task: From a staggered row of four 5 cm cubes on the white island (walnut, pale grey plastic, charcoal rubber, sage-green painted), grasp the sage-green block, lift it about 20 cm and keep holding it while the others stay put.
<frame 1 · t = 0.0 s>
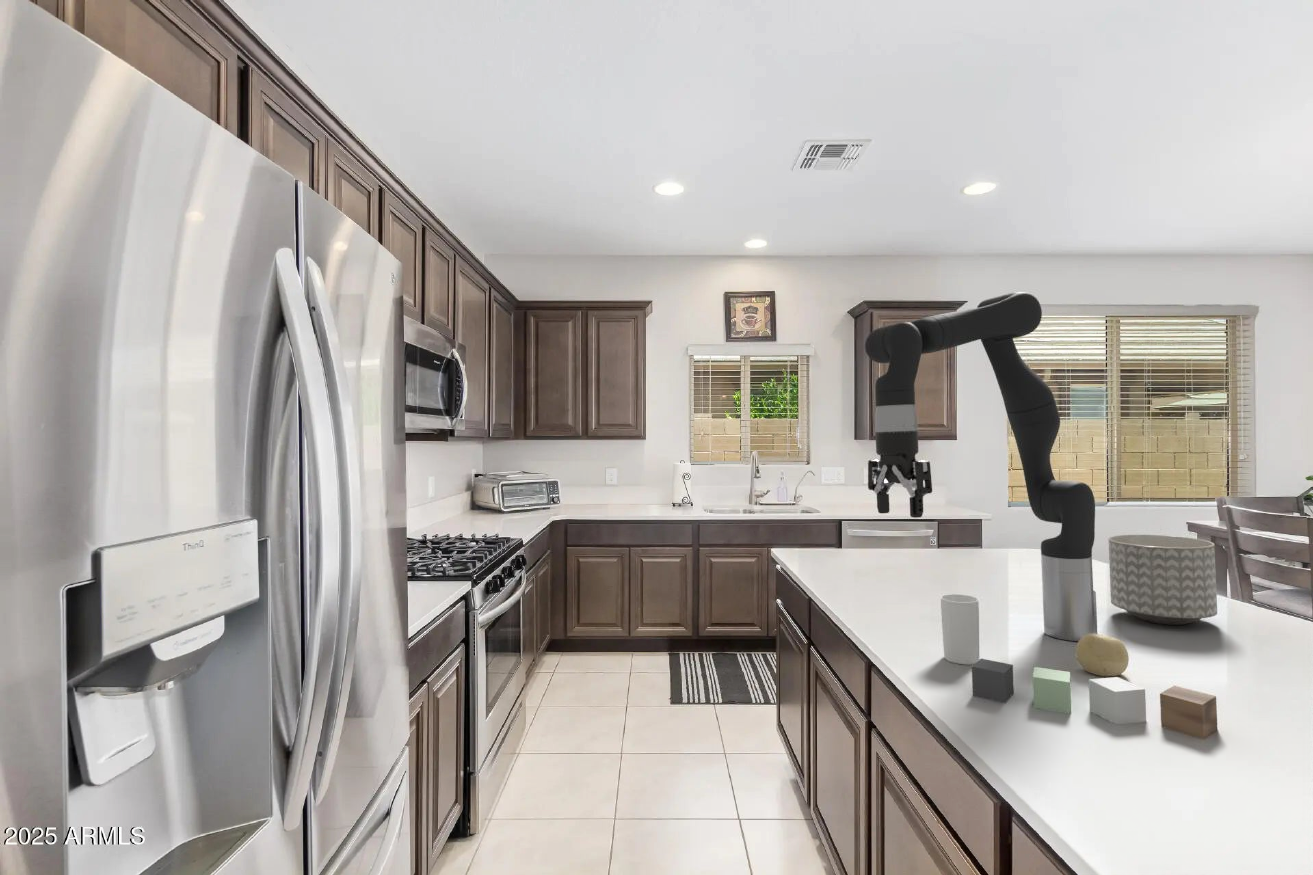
hand: (899, 515, 120), 29 cm above the table, fingers open, 8 cm apart
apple: (1102, 673, 115), on the table
grey block: (1117, 716, 98), on the table
planter: (1162, 620, 145), on the table
walnut block: (1189, 728, 93), on the table
charcoal block: (993, 695, 107), on the table
mug: (964, 658, 125), on the table
sage block: (1052, 705, 103), on the table
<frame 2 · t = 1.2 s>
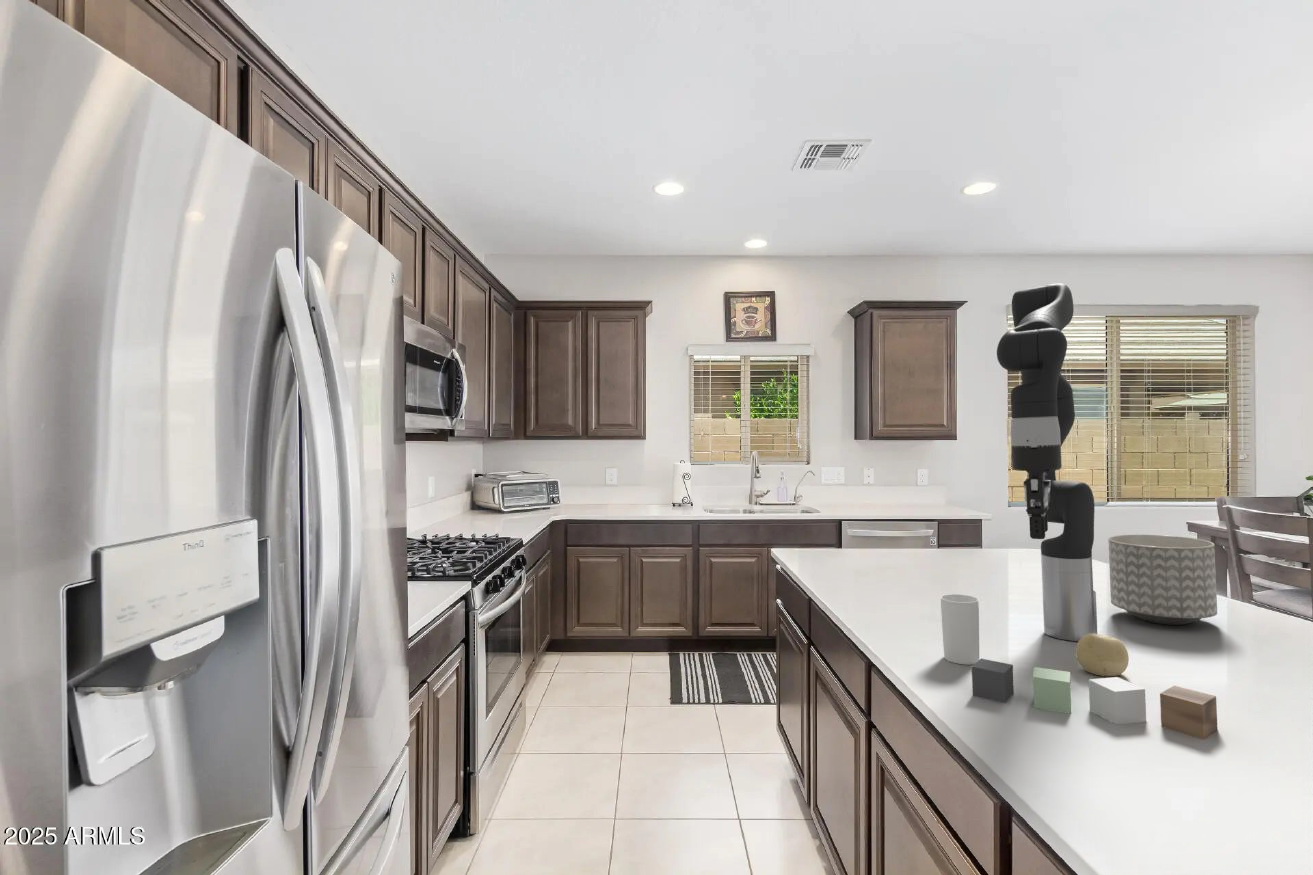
hand: (1039, 534, 112), 26 cm above the table, fingers open, 8 cm apart
nothing on the table moved.
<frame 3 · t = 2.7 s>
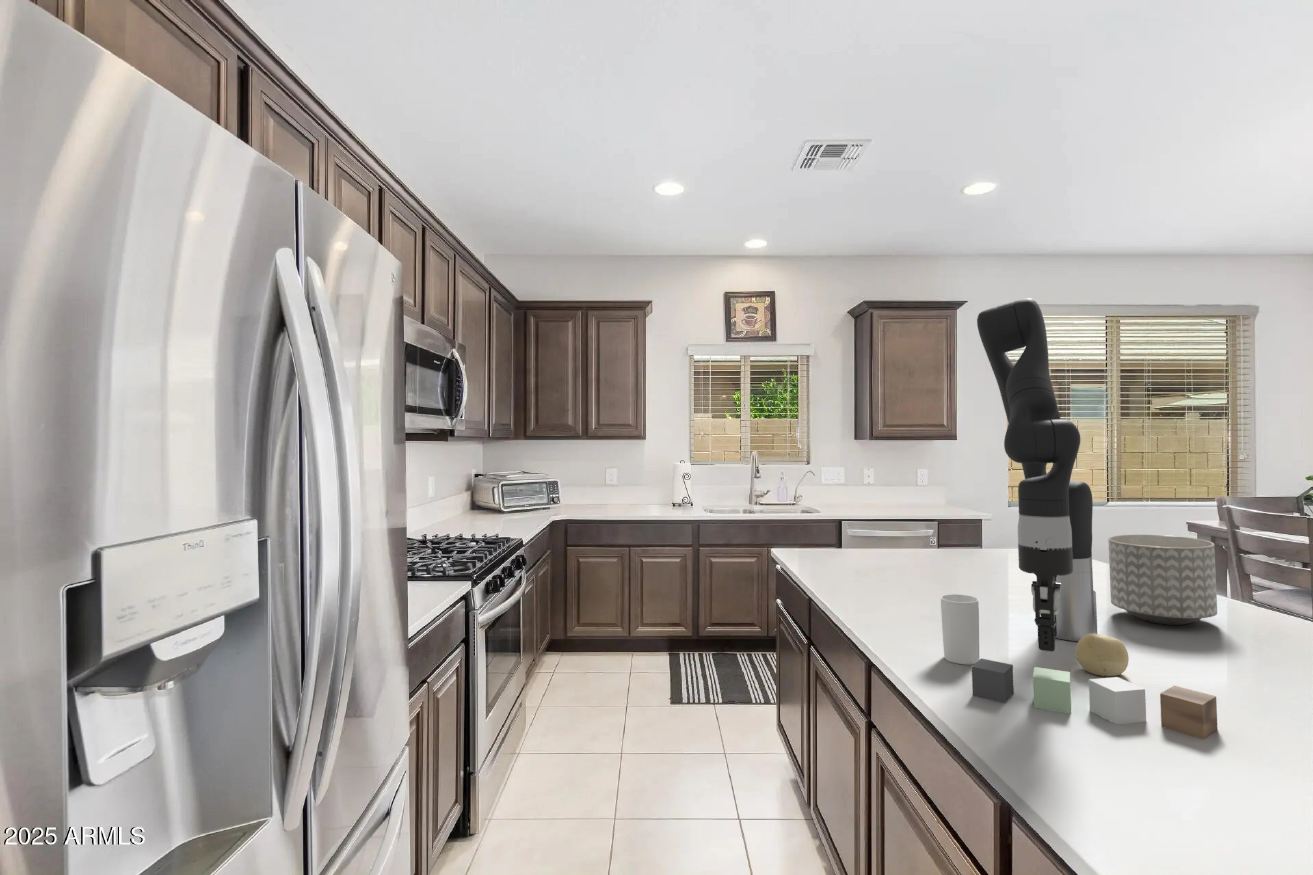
hand: (1047, 642, 103), 10 cm above the table, fingers open, 8 cm apart
nothing on the table moved.
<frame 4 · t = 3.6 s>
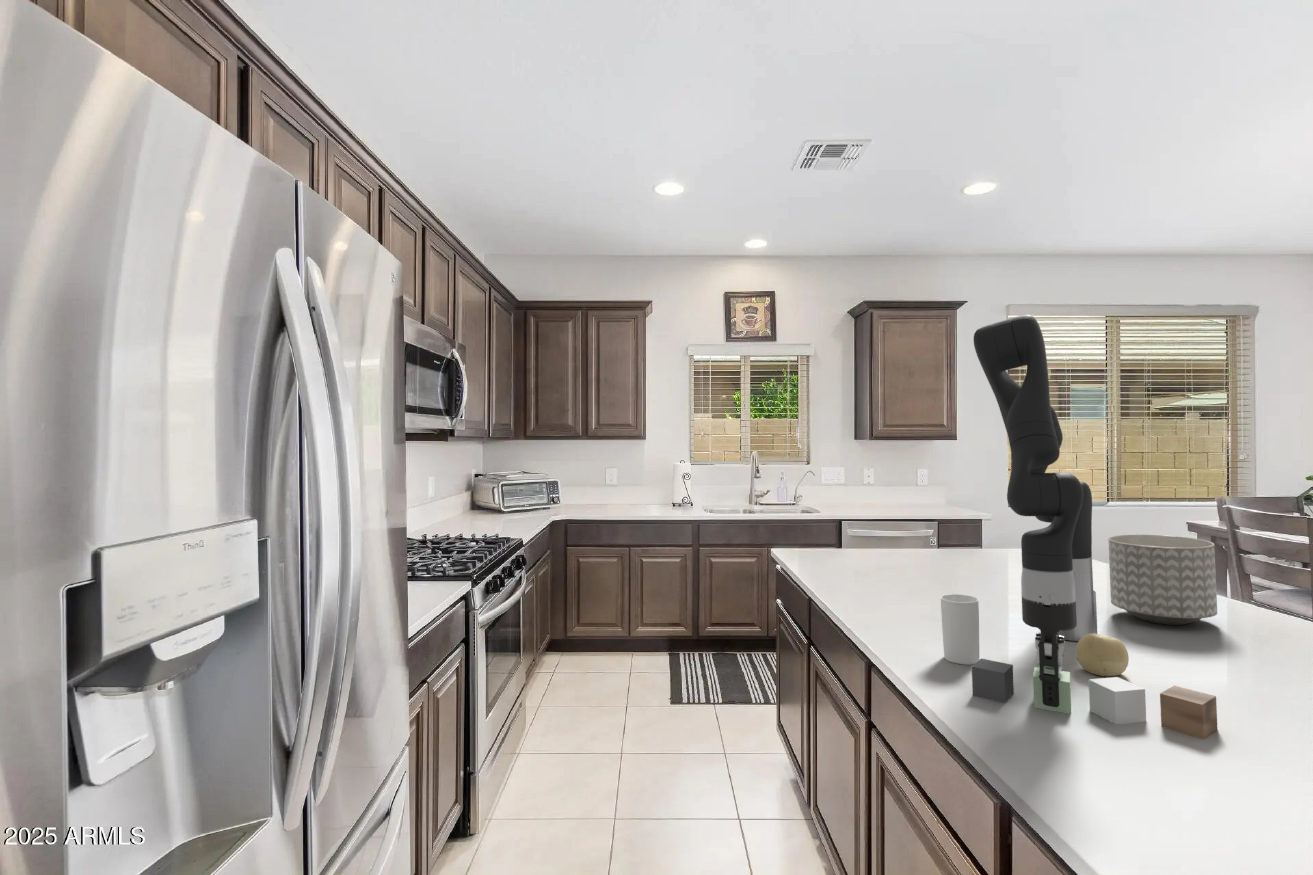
hand: (1052, 695, 103), 1 cm above the table, fingers open, 8 cm apart
nothing on the table moved.
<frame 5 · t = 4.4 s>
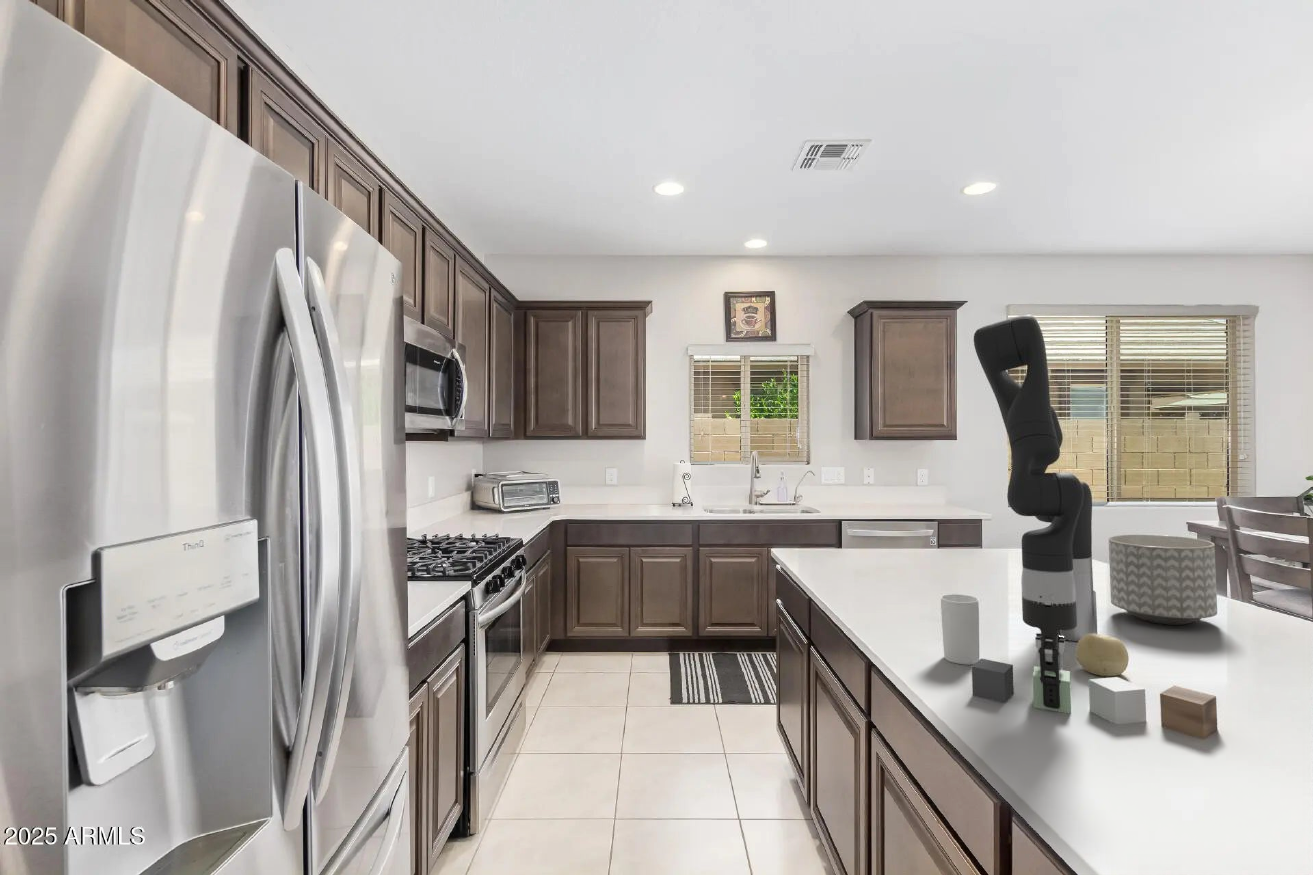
hand: (1052, 700, 103), 1 cm above the table, fingers closed on sage block, 5 cm apart
sage block: (1052, 704, 103), on the table, touching gripper
everything else where it was.
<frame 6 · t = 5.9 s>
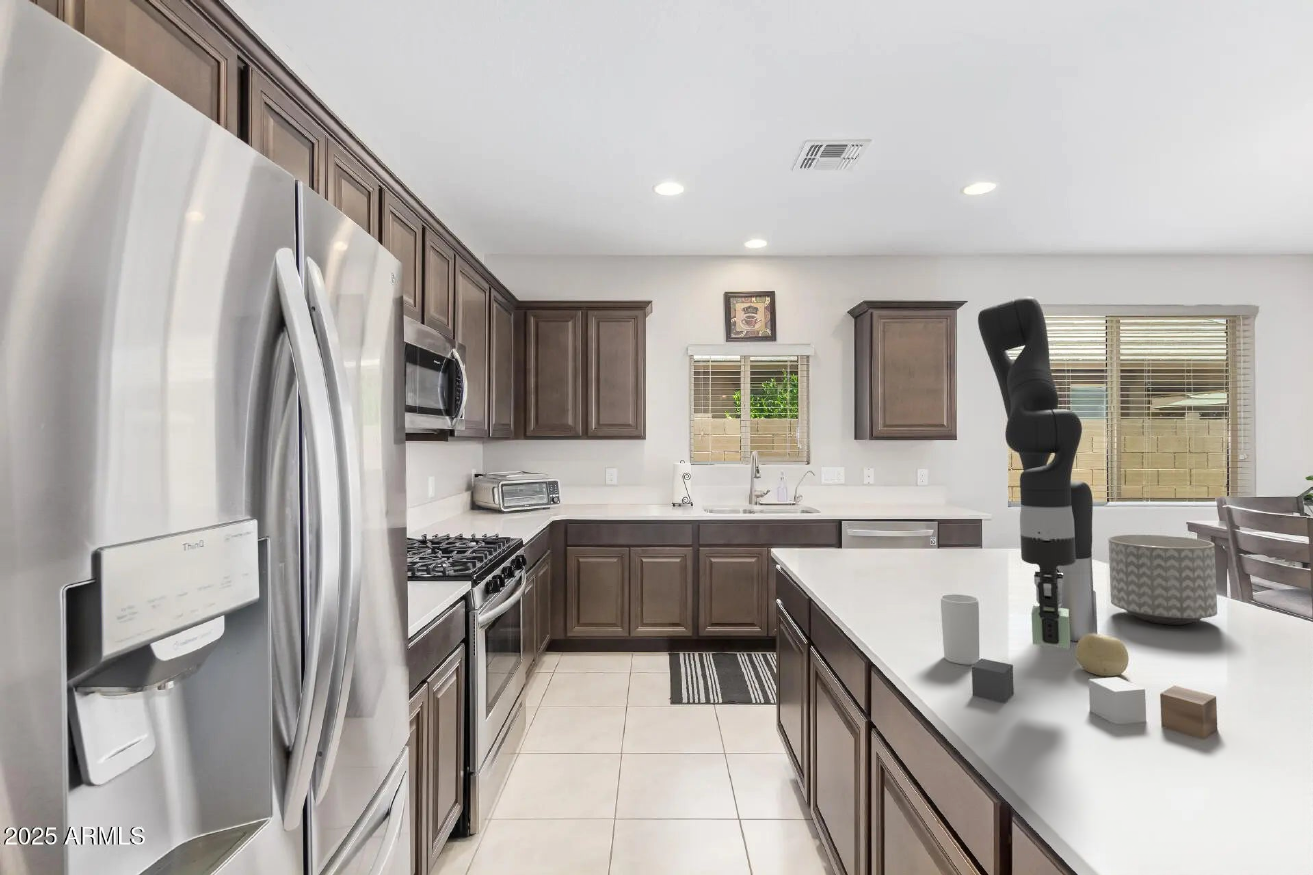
hand: (1051, 637, 103), 11 cm above the table, fingers closed on sage block, 5 cm apart
sage block: (1051, 641, 103), point 10 cm above the table, touching gripper
everything else where it was.
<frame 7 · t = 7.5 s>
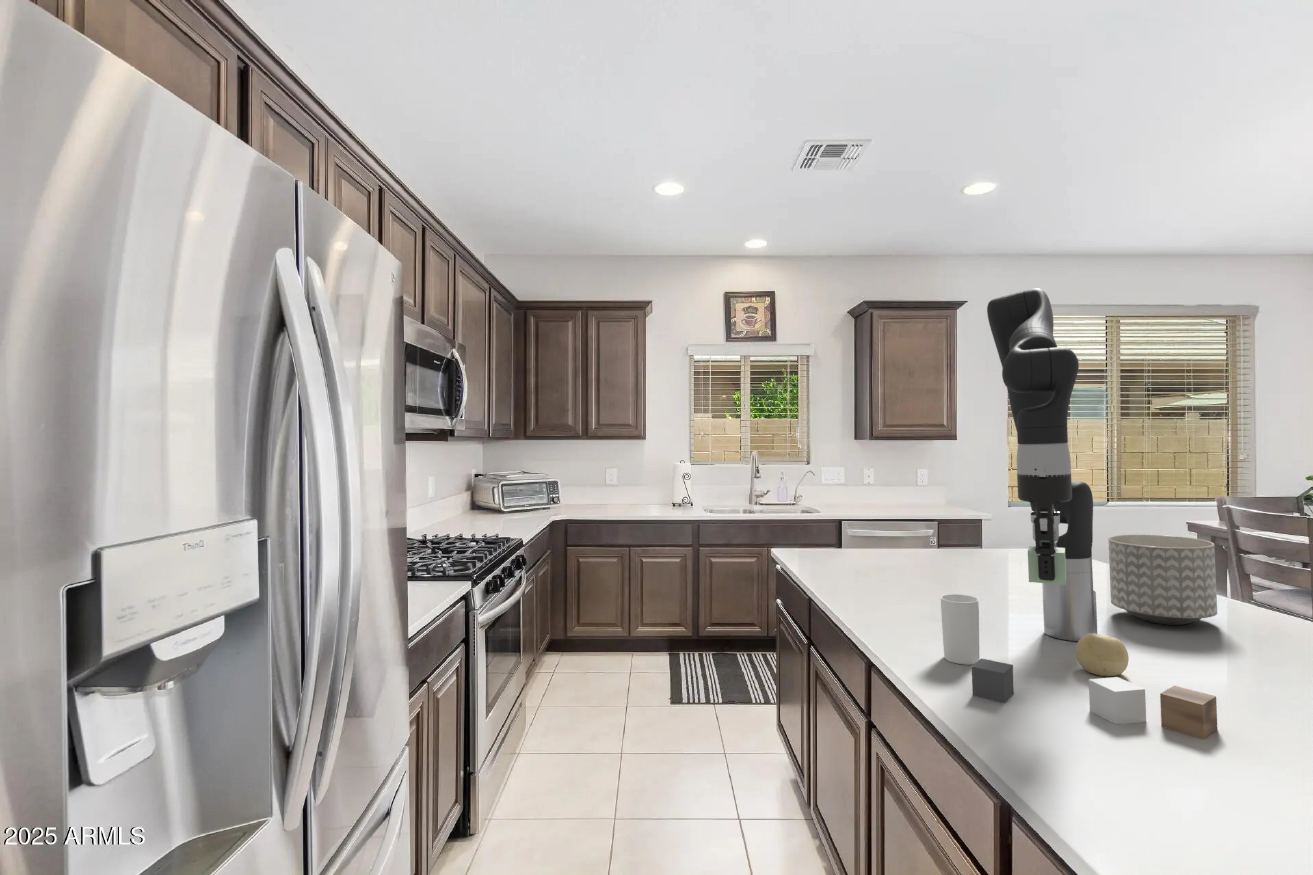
hand: (1047, 575, 103), 21 cm above the table, fingers closed on sage block, 5 cm apart
sage block: (1047, 580, 103), point 20 cm above the table, touching gripper
everything else where it was.
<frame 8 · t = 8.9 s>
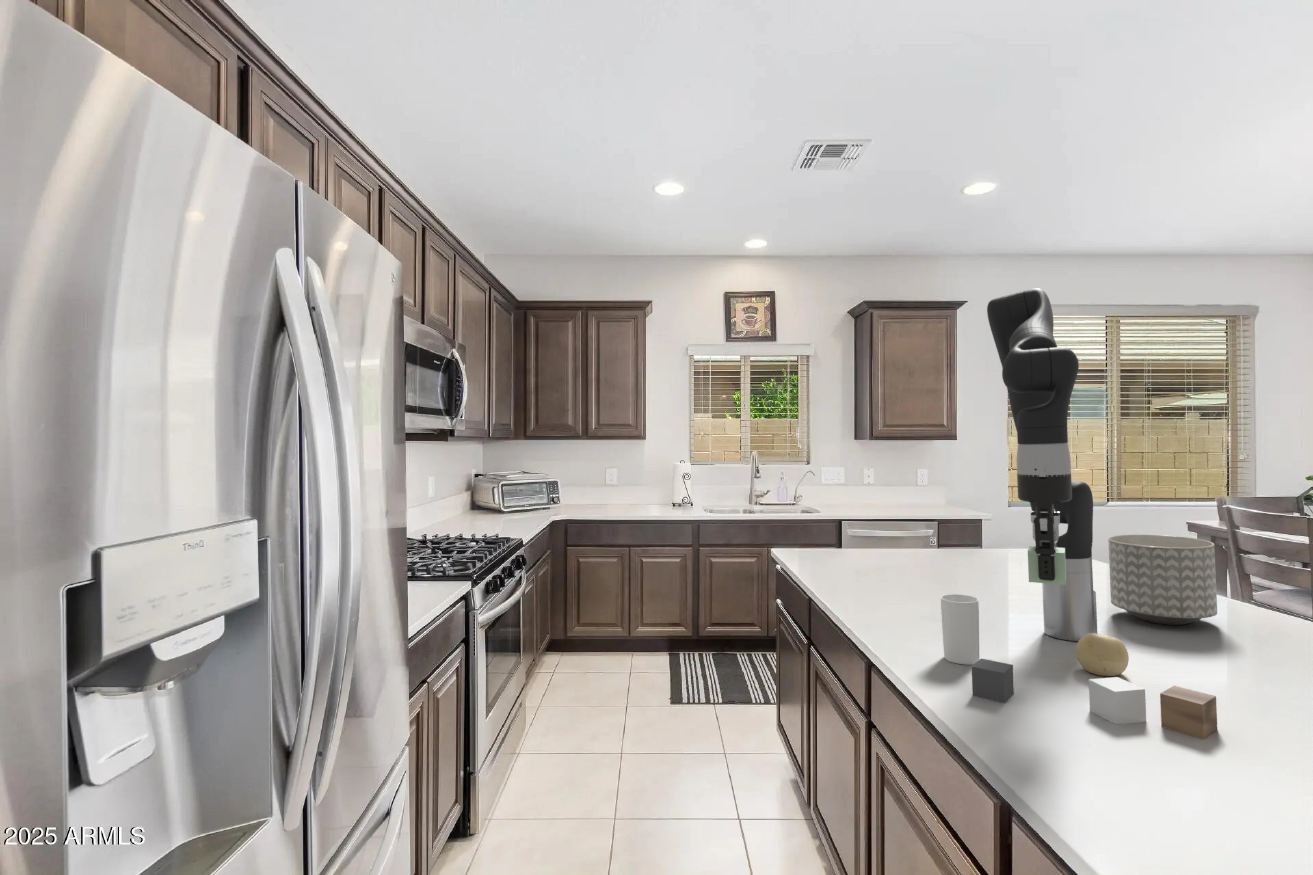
hand: (1047, 575, 103), 21 cm above the table, fingers closed on sage block, 5 cm apart
sage block: (1047, 580, 103), point 20 cm above the table, touching gripper
everything else where it was.
at the end: the gripper is holding sage block; sage block point 20.1 cm above the table; grey block moved 0.1 cm from its start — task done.
